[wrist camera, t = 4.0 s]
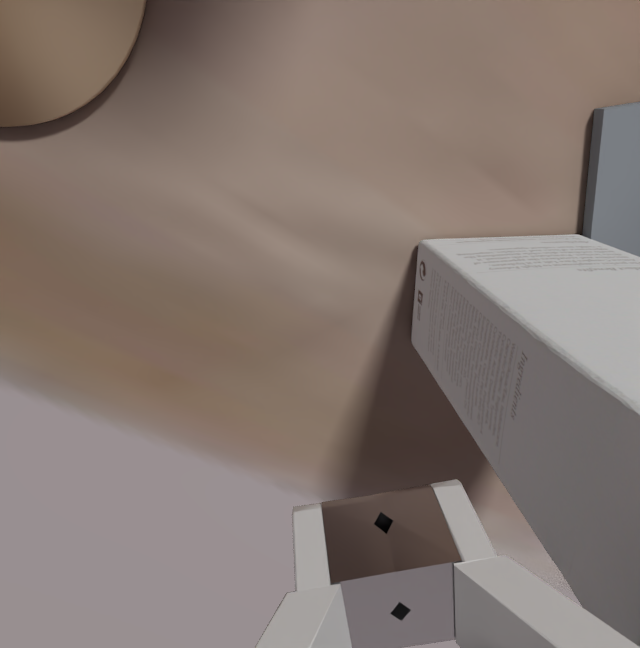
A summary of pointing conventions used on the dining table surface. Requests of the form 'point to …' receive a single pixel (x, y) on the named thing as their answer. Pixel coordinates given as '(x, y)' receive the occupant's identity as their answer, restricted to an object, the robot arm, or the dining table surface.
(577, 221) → the dining table surface
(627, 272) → the skincare box
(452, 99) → the dining table surface
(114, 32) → the cork coaster
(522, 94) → the dining table surface
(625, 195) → the felt mat
